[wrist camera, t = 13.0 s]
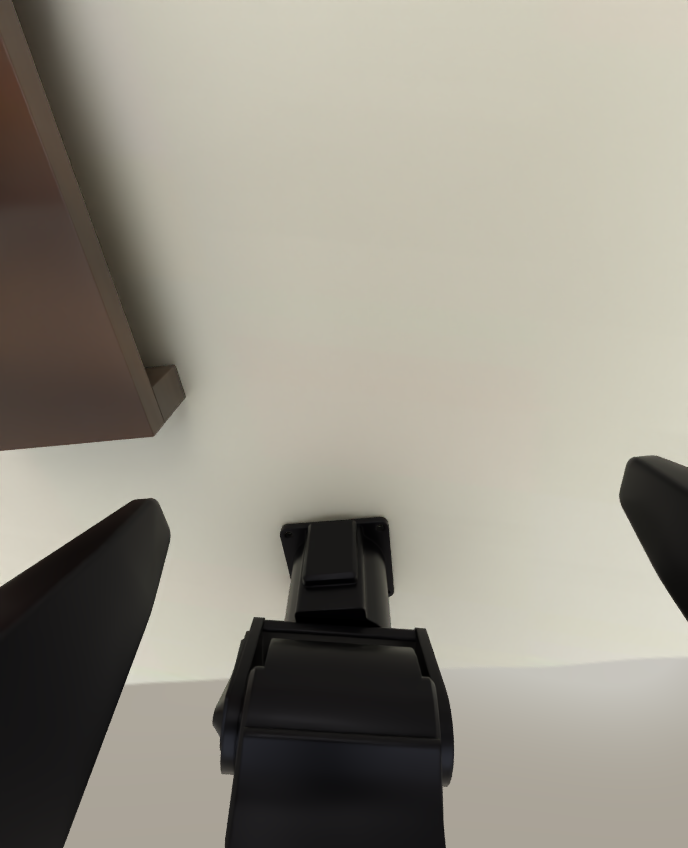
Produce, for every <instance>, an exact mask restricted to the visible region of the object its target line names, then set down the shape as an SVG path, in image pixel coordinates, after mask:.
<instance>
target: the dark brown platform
mask: <svg viewBox="0 0 688 848" xmlns="http://www.w3.org/2000/svg"><path fill="white" fill-rule="evenodd" d="M184 398H185V394H184V391H183V388H182V385H181V382H180V379H179V375H178V372H177V369H176V366H175V365H167V366H158V367H148V368H144V365H143V363H142V360H141V357H140V354H139V352H138V349H137V346H136V343H135V340H134V338H133V335H132V332H131V329H130V327H129V324H128V321H127V318H126V315H125V313H124V310H123V307H122V304H121V302H120V299H119V296H118V293H117V291H116V288H115V285H114V282H113V279H112V277H111V274H110V271H109V268H108V266H107V263H106V260H105V257H104V254H103V252H102V249H101V246H100V243H99V241H98V238H97V235H96V232H95V229H94V227H93V224H92V221H91V218H90V216H89V213H88V210H87V207H86V204H85V202H84V199H83V196H82V193H81V191H80V188H79V185H78V182H77V180H76V177H75V174H74V171H73V168H72V166H71V163H70V160H69V157H68V155H67V152H66V149H65V146H64V143H63V141H62V138H61V135H60V132H59V130H58V127H57V124H56V121H55V118H54V116H53V113H52V110H51V107H50V105H49V102H48V99H47V96H46V93H45V91H44V88H43V85H42V82H41V80H40V77H39V74H38V71H37V69H36V66H35V63H34V60H33V57H32V55H31V52H30V49H29V46H28V44H27V41H26V38H25V35H24V32H23V30H22V27H21V24H20V21H19V19H18V16H17V13H16V10H15V7H14V5H13V2H12V0H0V451H4V450H15V449H26V448H36V447H47V446H58V445H69V444H79V443H90V442H101V441H112V440H122V439H133V438H144V437H154V436H155V435H156V433H157V432H158V431H159V430H160V428H161V427H162V426H163V425H164V423H165V422H166V421H167V420H168V418H169V417H170V416H171V415H172V413H173V412H174V411H175V410H176V408H177V407H178V406H179V405H180V403H181V402H182V401H183V400H184Z"/></svg>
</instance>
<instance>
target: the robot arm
mask: <svg viewBox="0 0 688 848" xmlns="http://www.w3.org/2000/svg"><path fill="white" fill-rule="evenodd" d="M619 498H620V503H621V506H622V508H623V510H624V512H625V514H626V516H627V518H628V519H629V521H630V523H631V525H632V527H633V529H634V531H635V533H636V535H637V537H638V539H639V541H640V543H641V544H642V546H643V548H644V550H645V552H646V554H647V556H648V558H649V560H650V562H651V564H652V566H653V567H654V569H655V571H656V573H657V575H658V576H659V578H660V580H661V581H662V583H663V585H664V586H665V588H666V589H667V591H668V593H669V594H670V596H671V597H672V599H673V600H674V602H675V603H676V605H677V606H678V608H679V609H680V611H681V612H682V614H683V615H684V617H685V618H686V620H687V621H688V467H686V466H683V465H680V464H678V463H675V462H672V461H670V460H667V459H664V458H662V457H659V456H654V455H651V456H639V457H633V458H631V459H629V461H628V462H627V464H626V468H625V472H624V476H623V480H622V484H621V488H620V493H619ZM378 525H383V526H381V527H378ZM286 532H290V534H289V533H286ZM280 537H281V542H282V546H283V550H284V554H285V558H286V562H287V566H288V570H289V574H290V578H291V583H290V589H289V596H288V602H287V609H286V615H285V621H276V620H265V618H260V617H254V619H253V622H252V625H251V628H250V631H247V632H246V634H245V637H244V639H243V640H241V643H240V647H239V651H238V655H237V660H236V663H235V667H234V670H233V673H232V675H231V678H230V680H229V682H228V684H227V686H226V688H225V690H224V692H223V694H222V696H221V698H220V700H219V702H218V704H217V706H216V708H215V711H214V715H213V726H214V728H215V729H216V731H217V733H218V734H219V736H220V750H221V761H220V762H221V763H220V764H221V773H222V774H231V775H234V778H233V785H232V794H231V801H230V808H229V815H228V823H227V830H226V837H225V848H446V845H445V837H444V836H445V835H444V823H443V791H442V786H444V787H447V786H448V785H449V783H450V780H451V777H452V772H453V763H454V736H453V724H452V716H451V709H450V704H449V699H448V695H447V692H446V688H445V685H444V682H443V679H442V676H441V673H440V670H439V667H438V664H437V661H436V658H435V655H434V652H433V649H432V646H431V643H430V640H429V637H428V634H427V631H426V629H425V628H415V629H414V630H411V629H396V628H391V620H390V609H389V599H388V597H390V596H392V595H393V594H394V585H393V573H392V561H391V549H390V537H389V525H388V521H387V520H386V519H385V518H383V517H374V518H361V519H348V520H335V521H322V522H309V523H297V524H286V525H284V526H282V528H281V531H280ZM169 543H170V529H169V526H168V524H167V521H166V519H165V517H164V514H163V512H162V509H161V507H160V505H159V503H158V501H157V500H155V499H153V498H148V499H136V500H133V501H131V502H129V503H128V504H126V505H125V506H123V507H122V508H120V509H119V510H117V511H116V512H114V513H113V514H111V515H109V516H108V517H106V518H105V519H103V520H102V521H100V522H99V523H97V524H96V525H94V526H93V527H91V528H90V529H88V530H87V531H85V532H83V533H82V534H80V535H79V536H77V537H76V538H74V539H73V540H71V541H70V542H68V543H67V544H65V545H64V546H62V547H61V548H59V549H58V550H56V551H54V552H53V553H51V554H50V555H48V556H47V557H45V558H44V559H42V560H41V561H39V562H38V563H36V564H35V565H33V566H32V567H30V568H28V569H27V570H25V571H24V572H22V573H21V574H19V575H18V576H16V577H15V578H13V579H12V580H10V581H9V582H7V583H6V584H4V585H3V586H1V587H0V848H63V847H64V844H65V841H66V839H67V836H68V834H69V831H70V828H71V826H72V823H73V820H74V818H75V815H76V812H77V809H78V807H79V804H80V802H81V799H82V796H83V793H84V791H85V788H86V786H87V783H88V780H89V777H90V775H91V772H92V769H93V767H94V764H95V762H96V759H97V756H98V754H99V751H100V748H101V745H102V743H103V740H104V738H105V735H106V732H107V730H108V727H109V724H110V722H111V719H112V716H113V714H114V711H115V708H116V706H117V703H118V700H119V698H120V695H121V692H122V689H123V687H124V684H125V682H126V679H127V676H128V674H129V671H130V668H131V666H132V663H133V660H134V658H135V655H136V652H137V650H138V647H139V644H140V642H141V639H142V636H143V634H144V631H145V628H146V626H147V623H148V620H149V617H150V614H151V611H152V608H153V604H154V601H155V597H156V593H157V589H158V586H159V582H160V578H161V574H162V570H163V566H164V562H165V559H166V555H167V551H168V547H169Z"/></svg>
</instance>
